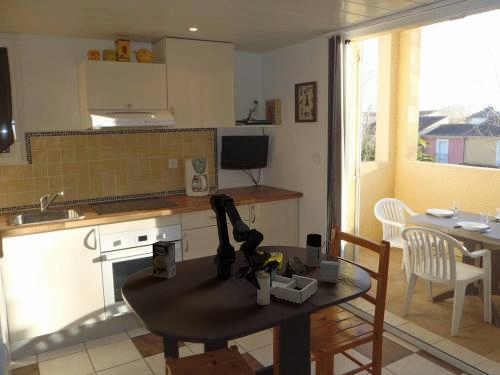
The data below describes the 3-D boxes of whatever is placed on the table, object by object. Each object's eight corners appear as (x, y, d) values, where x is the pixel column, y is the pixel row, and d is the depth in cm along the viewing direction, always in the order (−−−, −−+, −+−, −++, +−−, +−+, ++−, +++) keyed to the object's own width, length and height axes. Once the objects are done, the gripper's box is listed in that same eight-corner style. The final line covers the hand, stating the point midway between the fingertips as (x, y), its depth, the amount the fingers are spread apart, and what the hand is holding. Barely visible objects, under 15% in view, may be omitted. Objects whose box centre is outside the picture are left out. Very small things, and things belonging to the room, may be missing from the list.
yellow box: (255, 259, 233) (254, 250, 232) (283, 260, 231) (283, 251, 230) (250, 268, 218) (250, 259, 218) (280, 270, 216) (280, 260, 215)
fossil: (306, 277, 203) (296, 259, 202) (288, 285, 206) (279, 266, 205) (307, 269, 214) (298, 251, 213) (291, 276, 216) (282, 258, 215)
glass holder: (310, 260, 230) (310, 232, 227) (334, 265, 222) (335, 236, 219) (302, 264, 223) (302, 236, 220) (327, 270, 215) (328, 240, 212)
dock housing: (275, 297, 183) (275, 286, 182) (293, 285, 196) (293, 274, 195) (300, 303, 176) (300, 292, 175) (317, 290, 189) (317, 279, 188)
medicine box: (338, 279, 202) (338, 262, 200) (337, 283, 198) (337, 265, 196) (321, 277, 204) (321, 260, 203) (319, 281, 200) (320, 263, 199)
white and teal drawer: (257, 291, 188) (257, 273, 187) (274, 280, 200) (274, 264, 199) (281, 297, 182) (281, 279, 180) (297, 286, 194) (297, 268, 192)
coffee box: (152, 276, 207) (151, 243, 205) (160, 272, 213) (159, 240, 210) (169, 279, 204) (168, 245, 201) (176, 274, 210) (175, 242, 207)
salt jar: (255, 303, 176) (255, 275, 174) (260, 298, 181) (260, 271, 179) (267, 306, 174) (267, 277, 172) (271, 301, 179) (271, 273, 177)
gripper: (238, 248, 172) (253, 284, 165) (277, 241, 182) (292, 274, 175) (229, 262, 180) (242, 296, 173) (266, 254, 190) (281, 286, 182)
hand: (265, 288), depth 175 cm, fingers closed on salt jar, 5 cm apart
